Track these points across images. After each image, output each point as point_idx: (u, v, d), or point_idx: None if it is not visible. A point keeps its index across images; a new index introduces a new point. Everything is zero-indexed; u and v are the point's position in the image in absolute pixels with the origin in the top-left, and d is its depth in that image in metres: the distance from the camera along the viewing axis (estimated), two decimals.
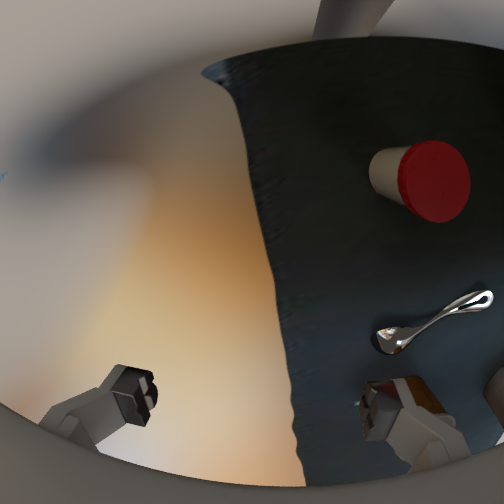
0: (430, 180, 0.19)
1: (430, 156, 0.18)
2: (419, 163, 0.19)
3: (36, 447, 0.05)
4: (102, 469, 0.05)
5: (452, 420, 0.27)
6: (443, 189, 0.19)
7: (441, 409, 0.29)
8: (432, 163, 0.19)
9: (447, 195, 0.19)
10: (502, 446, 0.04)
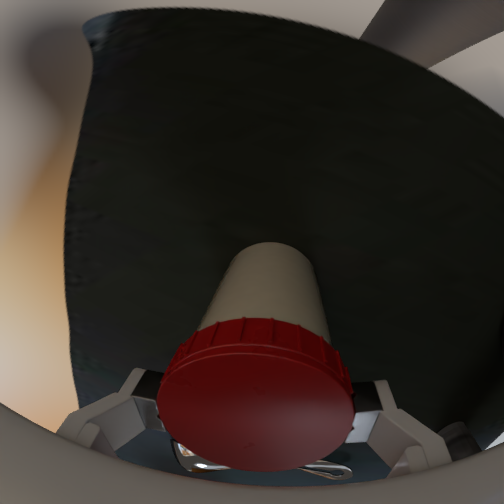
0: (225, 417, 0.08)
1: (250, 383, 0.08)
2: (207, 382, 0.08)
3: (36, 447, 0.05)
4: (102, 469, 0.05)
5: None
6: (254, 439, 0.08)
7: None
8: (248, 396, 0.08)
9: (260, 448, 0.09)
10: (502, 446, 0.04)
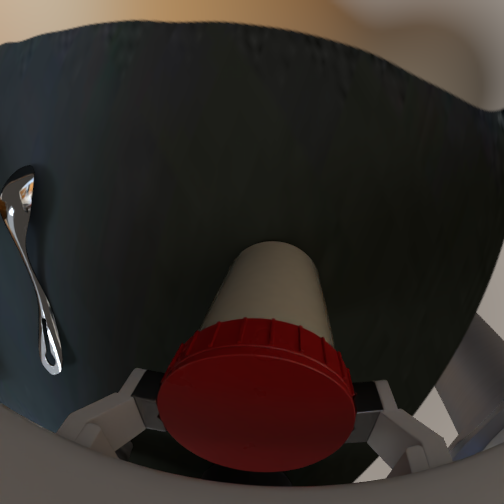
0: (225, 418, 0.08)
1: (250, 384, 0.07)
2: (208, 383, 0.08)
3: (36, 447, 0.05)
4: (102, 469, 0.05)
5: None
6: (255, 439, 0.08)
7: None
8: (249, 397, 0.08)
9: (260, 449, 0.09)
10: (502, 446, 0.04)
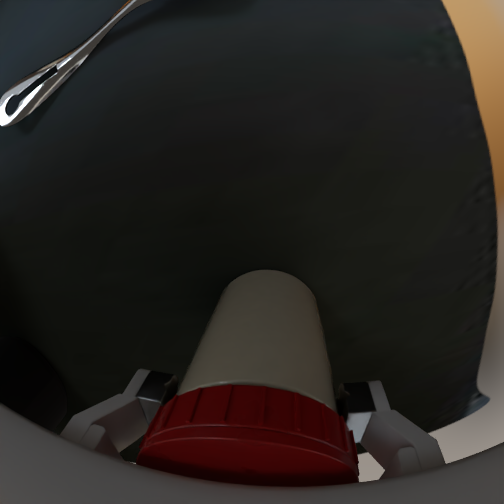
0: None
1: (237, 463, 0.06)
2: (188, 459, 0.06)
3: (36, 447, 0.05)
4: (102, 469, 0.05)
5: None
6: None
7: None
8: (236, 473, 0.06)
9: None
10: (502, 446, 0.04)
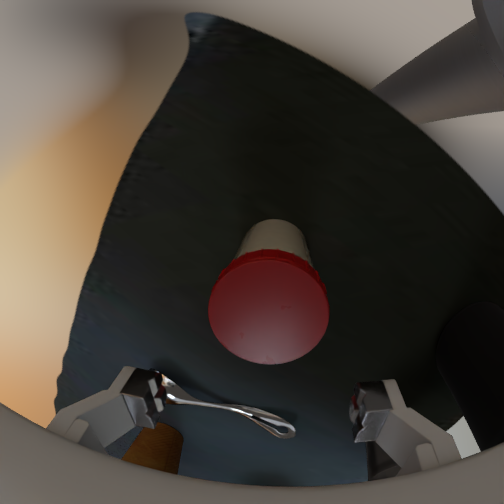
0: (273, 333, 0.16)
1: (241, 341, 0.16)
2: (258, 352, 0.16)
3: (36, 447, 0.05)
4: (102, 469, 0.05)
5: None
6: (276, 310, 0.15)
7: None
8: (248, 336, 0.16)
9: (282, 300, 0.15)
10: (502, 446, 0.04)
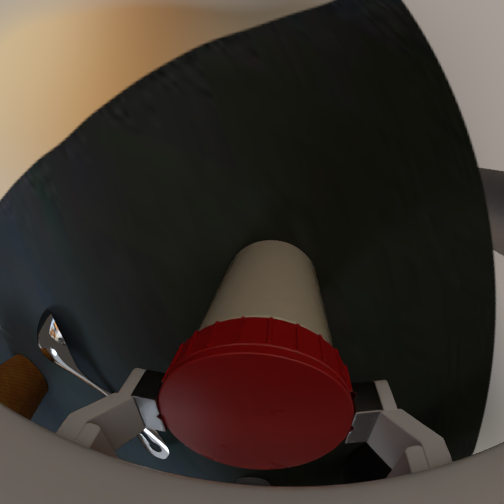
0: (269, 441, 0.09)
1: (227, 452, 0.09)
2: (257, 460, 0.09)
3: (36, 447, 0.05)
4: (102, 469, 0.05)
5: None
6: (262, 416, 0.08)
7: None
8: (235, 447, 0.09)
9: (267, 404, 0.08)
10: (502, 446, 0.04)
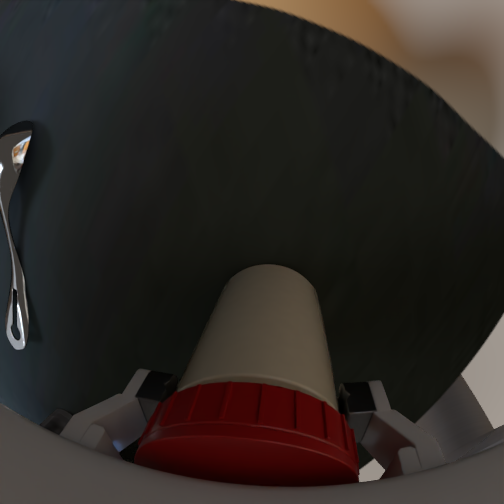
0: None
1: None
2: None
3: (36, 447, 0.05)
4: (102, 469, 0.05)
5: None
6: None
7: None
8: None
9: (258, 480, 0.06)
10: (502, 446, 0.04)
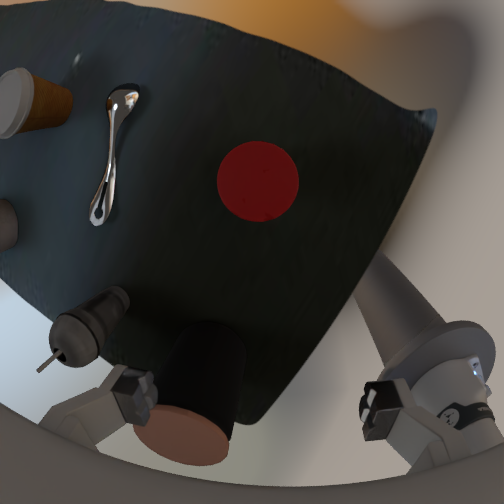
0: (263, 192, 0.23)
1: (244, 205, 0.24)
2: (258, 211, 0.24)
3: (36, 447, 0.05)
4: (102, 469, 0.05)
5: (9, 133, 0.24)
6: (260, 174, 0.23)
7: (26, 126, 0.25)
8: (248, 199, 0.23)
9: (262, 166, 0.23)
10: (502, 446, 0.04)
